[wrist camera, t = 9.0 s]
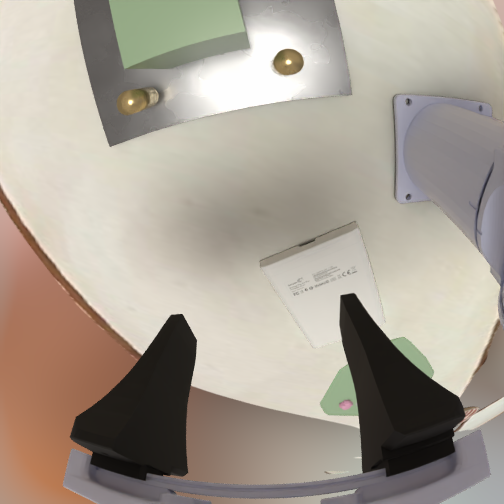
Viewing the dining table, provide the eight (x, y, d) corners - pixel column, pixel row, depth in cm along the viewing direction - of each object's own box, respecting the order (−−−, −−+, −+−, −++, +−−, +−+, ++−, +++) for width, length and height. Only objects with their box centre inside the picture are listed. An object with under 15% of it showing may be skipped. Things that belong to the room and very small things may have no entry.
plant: (286, 371, 33) (289, 435, 26) (440, 313, 27) (468, 374, 20) (336, 420, 46) (340, 460, 38) (434, 384, 39) (446, 424, 32)
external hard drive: (311, 337, 29) (259, 256, 23) (382, 312, 27) (354, 217, 20) (313, 349, 28) (259, 269, 21) (386, 323, 25) (360, 228, 19)
